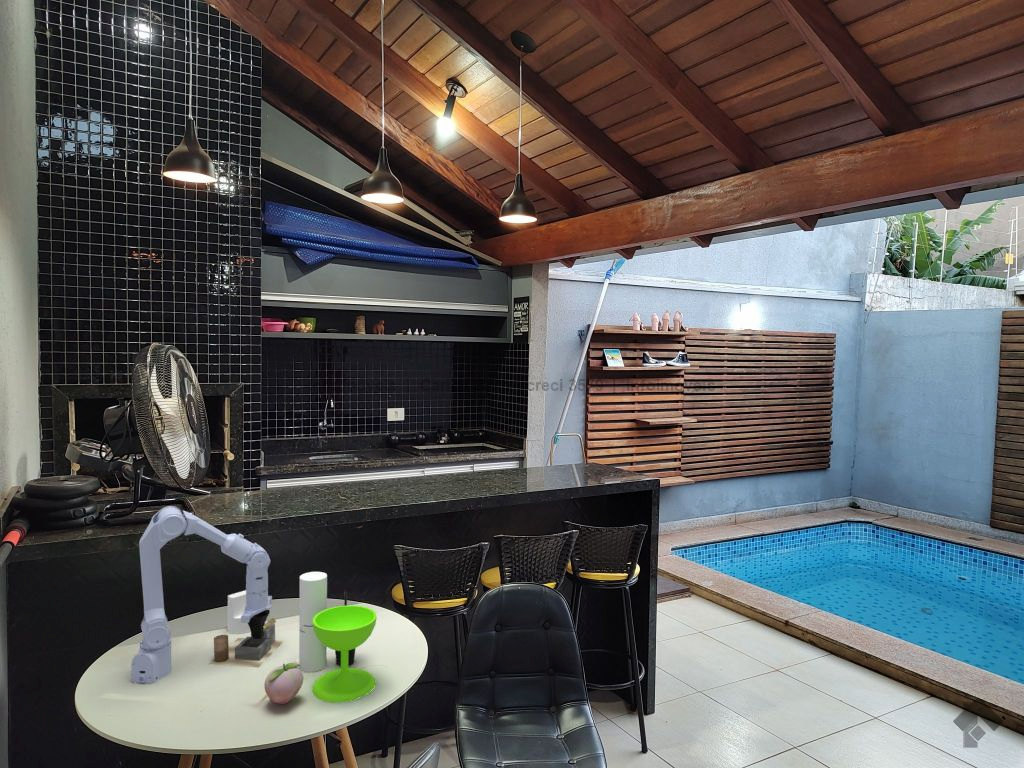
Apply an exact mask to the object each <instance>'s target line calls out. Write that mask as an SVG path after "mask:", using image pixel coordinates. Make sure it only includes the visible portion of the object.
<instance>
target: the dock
mask: <svg viewBox="0 0 1024 768" xmlns="http://www.w3.org/2000/svg"><path fill="white" fill-rule="evenodd" d="M284 642H285V640H276V623H275V624H271V625H270V626H269V627H268V628H267V629H266V630H265V631H264V634H263V635H262V636H261V638H260V639H256V638H252V634H251V633H250V636H246V637H245V638H244V637H238V638H236V639H235V640H234V641H233V642H232V643H231V644H230V645H228V648H229V659H228V660H226V661H223V662H215V661H214V659H213V660H211V661H210V662H209V663H208V665H215V666H216V665H217V666H218V665H219V666H231V667H232V666H233V667H243V668H244V667H247V668H261V666H262V665H263V664H264V663H265V662H266V660H268V658H270V657H271V656H272V655H273V653H274V652H275V651H276V650H277V649H278V648H279V647H281V645H282V644H283V643H284Z"/></svg>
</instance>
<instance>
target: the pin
mask: <svg viewBox="0 0 1024 768" xmlns="http://www.w3.org/2000/svg"><path fill="white" fill-rule="evenodd" d="M276 621H277V619H275V618H274V617H272V618H270V619H269V620H268V621H266V622H265V625H264V629H263V633H262V635H263V634H264V631H265V630H266V629H267V628H268V627H269V626H270V625H271V624H275V625H276Z"/></svg>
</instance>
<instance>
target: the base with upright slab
mask: <svg viewBox="0 0 1024 768" xmlns="http://www.w3.org/2000/svg"><path fill="white" fill-rule="evenodd" d="M245 607H246V589H245V590H242V591H238V592H235V593H231V594H228V595H227V617H226V620H227V621H226V622H227V625H226V626H227V632H228V633H229V634H235V635H245V634H248V633H251V631H250V627H249V625H248V623H241V615H242V614H243V612H244V610H245Z"/></svg>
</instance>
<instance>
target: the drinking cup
mask: <svg viewBox="0 0 1024 768" xmlns="http://www.w3.org/2000/svg"><path fill="white" fill-rule="evenodd" d="M343 594H344V597H343V598H344V600H343V601H344V605H343V606H347V605H348V591H347V590H345V591H344V593H343ZM334 653H335V662H336V663H335V664H336V665H337V666H338V667H341V651H336V650H334ZM355 655H356V648H355V649H352V650H348V667H349V666H351V665H353V664H354V663H355Z"/></svg>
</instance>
